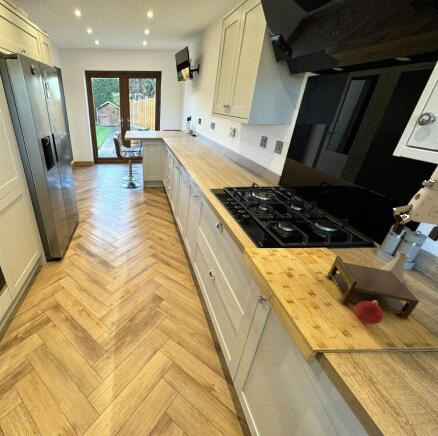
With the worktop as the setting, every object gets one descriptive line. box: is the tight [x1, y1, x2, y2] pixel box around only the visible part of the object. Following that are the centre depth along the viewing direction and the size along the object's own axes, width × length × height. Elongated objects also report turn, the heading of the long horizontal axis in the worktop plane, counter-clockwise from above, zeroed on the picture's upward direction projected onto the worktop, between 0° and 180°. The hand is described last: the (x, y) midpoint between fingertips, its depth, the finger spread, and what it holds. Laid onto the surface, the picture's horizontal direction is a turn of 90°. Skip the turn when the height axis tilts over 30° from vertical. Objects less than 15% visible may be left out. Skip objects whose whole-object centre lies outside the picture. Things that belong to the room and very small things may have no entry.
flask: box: [379, 251, 411, 284], centre depth 83 cm, size 7×7×10 cm
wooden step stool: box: [326, 255, 420, 320], centre depth 75 cm, size 16×14×9 cm
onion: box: [354, 300, 385, 325], centre depth 65 cm, size 6×6×8 cm
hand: (413, 236), depth 78 cm, fingers open, 9 cm apart
